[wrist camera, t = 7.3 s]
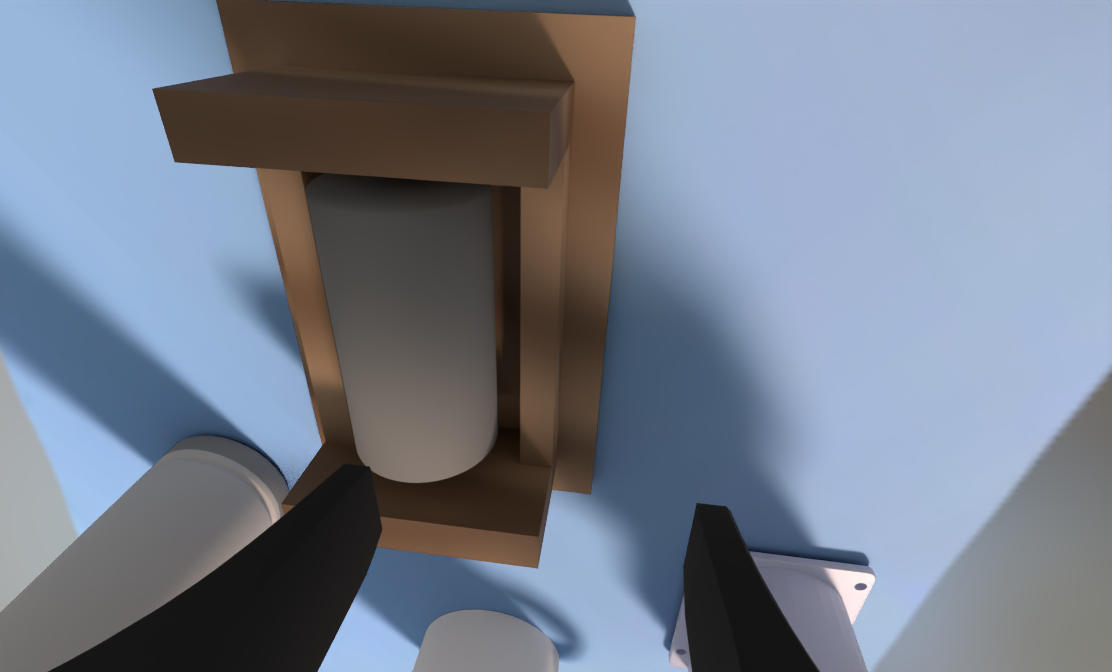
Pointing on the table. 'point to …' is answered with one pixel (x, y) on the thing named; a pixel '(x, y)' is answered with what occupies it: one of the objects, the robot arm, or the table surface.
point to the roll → (411, 318)
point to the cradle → (452, 156)
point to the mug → (485, 645)
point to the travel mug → (143, 551)
